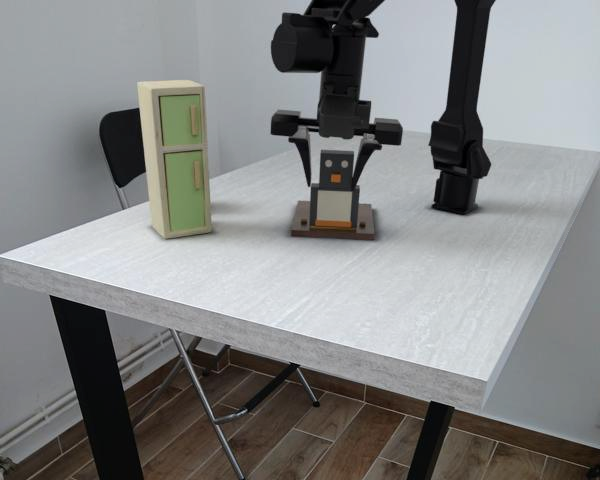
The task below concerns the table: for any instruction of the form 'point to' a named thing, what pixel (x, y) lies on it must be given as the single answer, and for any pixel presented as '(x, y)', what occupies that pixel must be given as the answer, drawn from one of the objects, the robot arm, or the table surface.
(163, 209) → the toy refrigerator
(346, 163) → the penguin
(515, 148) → the table surface
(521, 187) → the table surface
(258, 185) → the table surface
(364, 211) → the stand
